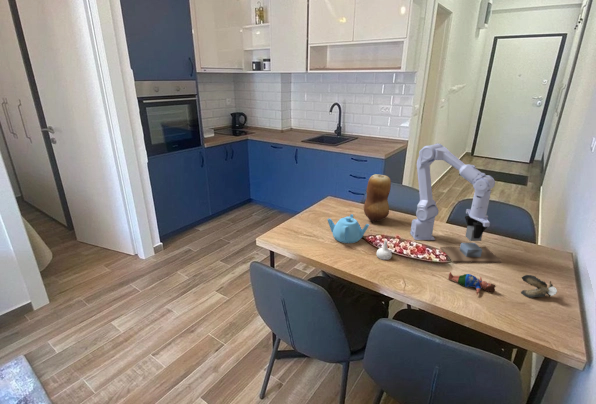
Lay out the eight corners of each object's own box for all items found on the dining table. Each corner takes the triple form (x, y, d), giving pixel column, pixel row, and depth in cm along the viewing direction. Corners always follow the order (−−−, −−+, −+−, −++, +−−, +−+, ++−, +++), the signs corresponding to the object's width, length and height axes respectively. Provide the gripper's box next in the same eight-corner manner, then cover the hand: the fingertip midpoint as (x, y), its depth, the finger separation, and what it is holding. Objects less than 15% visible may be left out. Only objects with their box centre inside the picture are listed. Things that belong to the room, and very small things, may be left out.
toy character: (453, 262, 123) (498, 274, 115) (451, 272, 124) (495, 285, 116) (446, 277, 113) (495, 291, 105) (444, 288, 115) (492, 303, 107)
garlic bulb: (375, 260, 134) (376, 244, 130) (377, 251, 139) (378, 236, 135) (390, 262, 131) (392, 246, 128) (392, 254, 137) (393, 238, 133)
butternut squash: (390, 225, 165) (395, 179, 156) (364, 225, 165) (368, 179, 156) (384, 215, 178) (388, 171, 169) (360, 215, 178) (363, 171, 169)
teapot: (325, 234, 156) (325, 213, 152) (351, 228, 161) (352, 209, 158) (341, 247, 143) (342, 226, 139) (369, 241, 148) (370, 220, 144)
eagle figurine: (543, 284, 114) (517, 278, 115) (557, 277, 108) (529, 270, 109) (547, 305, 110) (520, 298, 111) (562, 298, 104) (533, 291, 105)
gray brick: (470, 241, 132) (472, 230, 131) (465, 236, 136) (467, 225, 135) (481, 240, 132) (483, 230, 131) (475, 236, 136) (477, 225, 135)
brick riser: (452, 262, 130) (454, 253, 129) (440, 248, 141) (441, 239, 140) (501, 262, 130) (503, 253, 129) (485, 248, 141) (487, 239, 140)
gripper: (500, 212, 122) (492, 243, 127) (479, 199, 136) (473, 228, 141) (482, 212, 122) (475, 243, 127) (463, 199, 136) (458, 228, 141)
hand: (473, 235), depth 134 cm, fingers closed on gray brick, 4 cm apart
